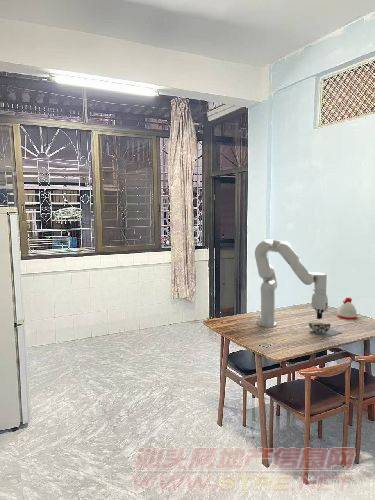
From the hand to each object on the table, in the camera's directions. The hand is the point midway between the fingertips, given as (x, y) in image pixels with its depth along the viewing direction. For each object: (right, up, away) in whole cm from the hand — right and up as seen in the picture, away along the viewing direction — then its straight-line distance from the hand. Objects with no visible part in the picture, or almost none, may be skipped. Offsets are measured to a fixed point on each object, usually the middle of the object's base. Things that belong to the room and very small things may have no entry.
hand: (319, 318), depth 245 cm
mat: (+3, -9, -4) cm, 10 cm away
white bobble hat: (+33, -5, +33) cm, 47 cm away
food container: (-2, -6, +1) cm, 7 cm away
